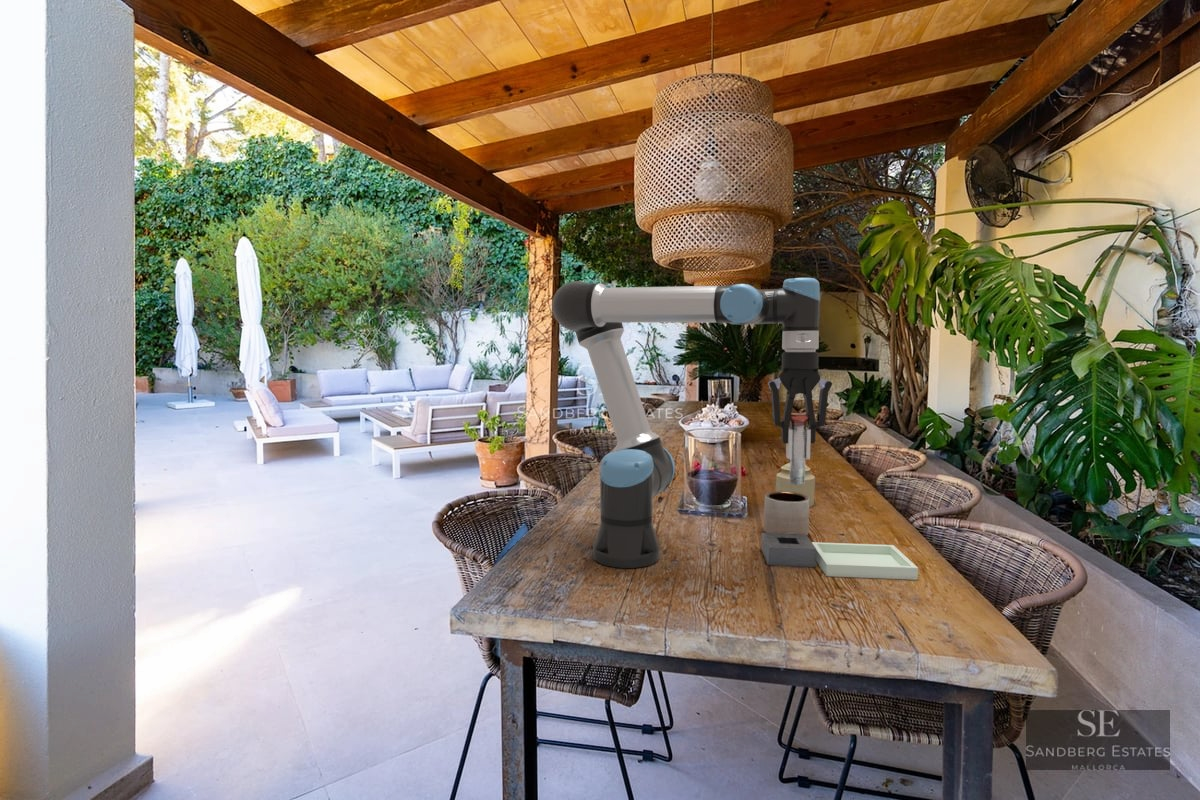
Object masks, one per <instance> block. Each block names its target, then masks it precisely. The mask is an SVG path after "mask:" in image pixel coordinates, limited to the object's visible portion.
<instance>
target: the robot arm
mask: <svg viewBox="0 0 1200 800" xmlns="http://www.w3.org/2000/svg"><path fill="white" fill-rule="evenodd" d="M820 295H821V291H820V282H819V280H817V279H816V278H814V277H795V278H787V279H785V280H784V281H783V285H782V287H781V288H774V289H757V288H755V287H754V286H752V285H750V284H747V283H735V284H732V285H694V286H692V285H691V286H688V285H687V286H686V285H685V286H683V285H682V286H681V285H680V286H639V287H638V286H635V287H634V286H633V287H631V286H630V287H608V286H606V285H605V284H603V283H601V282H599V283H598V282H596V283H594V282H593V283H592V282H585V281H580V280H574V281H569V282H567V283H564V284H562V286H560V287H559V288H558V289H557V290H556V292H555V294H554V296H553V299H552V303H551V307H552V313H553V317H554V319H555V320H556V321H557V322H558V324H559V325H560V326H561V327H563V328H565V329H566V330H569V331H571V332H572V331H573V332H574V333H575V335H576V339H577V342H578V344H579V346H580V347H582V348H584V349H586V351H587V352H588V355H589V358H590V362H591V365H592V368H593V371H594V374H595V377H596V380H597V383H598V385H599V389H600V392H601V395H602V397H603V398H602V399H603V401H604V403H605V407H606V409H607V413H608V415H609V419H610V422H611V426H612V428H613V431H614V434H615V438H616V441H617V443H616V446H615V447H614V450H613V451H611V452H609V453H607V454H605V455H604V456H603V457H602V459H601V460H600V461H601V462H600V469H599V478H600V480H599V485H600V486H599V488H600V490H599V491H600V508H599V509H600V523H599V525H598V526H599V527H598V529H597V533H596V536H595V539H594V541H593V545H592V558H593V559H594V561H596V562H597V563H599V564H601V565H603V566H606V567H607V566H608V567H611V568H612V567H613V568H618V569H636V568H643V567H648V566H651V565H653V564H655V563H657V562H659V560H660V559H661V555H660V554H661V549H660V544H659V541H658V538H657V537H658V536H657V535H656V531H655V527H654V524H653V499H654V498H655V497H656V496H658V495H660V494H662V493H663V492H665V491H666V490H667V488H669V486H670V484H671V483H672V481H673V479H674V476H675V472H676V465H675V462H674V458H673V456H672V454H671V453H670V452H669V450H667V449H665V448H664V446H663V444H662V439H661V437H660V435H658V434H657V433H655V432H653V431H652V430H651V427H650V424H649V421H648V418H647V415H646V412H645V408H644V405H643V403H642V400H641V397H640V394H639V391H638V387H637V383H636V381H635V379H634V375H633V372H632V369H631V366H630V363H629V360H628V357H627V354H626V351H625V347H624V344H623V342H622V335H623V333H624V332H625V329H624V326H623V323H677V324H678V323H680V324H681V323H683V324H684V323H685V324H686V323H691V324H692V323H694V324H695V323H696V324H697V323H698V324H699V323H701V324H702V323H705V324H706V323H710V324H711V323H714V324H715V323H717V324H718V323H720V324H730V325H739V326H746V325H766V324H767V325H768V324H769V325H771V324H775V325H776V324H782V336H781V337H782V339H781V342H782V343H781V348H782V350H784V352H782V353H781V372H780V374H779V377H778V378H775V379H774V380H769V381H768V382H767V386H768V387H769V390H770V392H771V393H770V395H771V409H772V410H771V411H772V423H773V425H774V426H775V427H779V428H781V443H783V444H785V457H786V458H787V460H790V459H792V429H791V427H790V425H791V420H790V419H791V413H793V407H794V401H795V398H796V395H798V394H799V395H800V394H802V396H803V400H804V407H805V414H808V415H809V421H806V423H807V427H806V455H805V460H811V444H812V445H813V444H815V443H816V432H817V431H816V430H817V429H818V428H820V427H824V426H825V425H826V417H827V410H828V409H827V407H828V399H829V398H828V397H829V392H830V390H831V387H832V386H833V383H832V381H831V380H830V381H829V380H826V379H823V378H822V377H821V375H820V373H819V353H818V351H816V350H819V343H820V342H819V339H820V338H819V337H820V336H819V335H820V328H819V327H820V312H821V310H820V309H821V296H820ZM781 384H782V385H783V387H784V388H785V390H786V396H785V397H786V398H785V403H784V408H783V409H784V410H783V414H782V420H781V407H780V393H779V389H780V388H781V386H780V385H781ZM817 385H818V388H819V394H818V395H819V396H818V404H817V414H816V415H815V408H814V401H813V390H814V389H815V388H816V386H817ZM815 416H816V417H815Z"/></svg>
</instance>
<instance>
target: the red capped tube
mask: <svg viewBox="0 0 1200 800" xmlns="http://www.w3.org/2000/svg"><path fill="white" fill-rule="evenodd" d="M807 421H809V415H808V414H806V413H801V412H799V413H798V412H797V413H796V412H795V413H794V412H792V413H791V419H790V428H791V429H792V459H789V463H790V483H791V484H798V485H801V484H805V465H806V458H805V455H806V428H807Z"/></svg>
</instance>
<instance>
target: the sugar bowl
mask: <svg viewBox="0 0 1200 800" xmlns="http://www.w3.org/2000/svg"><path fill="white" fill-rule="evenodd" d="M810 470H811V467H809V466H808V465H807V464H805V484H801V485H798V484H791V483H790V462H789V463H786V464H784V465H782V466H781V471H780V472H777V473H776V476H775V477H776V478H775V492H777V491H785V492H795V493H800V494H803V495H806V496H808V497H809V508H810V507H813V506H814V504H815V489H816V488H815V487H816V477H815V475H813V474H812V473H811V472H810Z"/></svg>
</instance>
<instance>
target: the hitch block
mask: <svg viewBox="0 0 1200 800" xmlns="http://www.w3.org/2000/svg"><path fill="white" fill-rule="evenodd" d="M812 542H813V541H811V539H810V538H809V537H808V535H806V534H781V533H766V532H761V543H760V544H761V547H760V548H761V552H762V555H763V557H764V559H765V562H766V564H767V566H779V567H801V568H802V567H807V568H816V566H817V561H816V548H815V546H814V545H813V544H812Z"/></svg>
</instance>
